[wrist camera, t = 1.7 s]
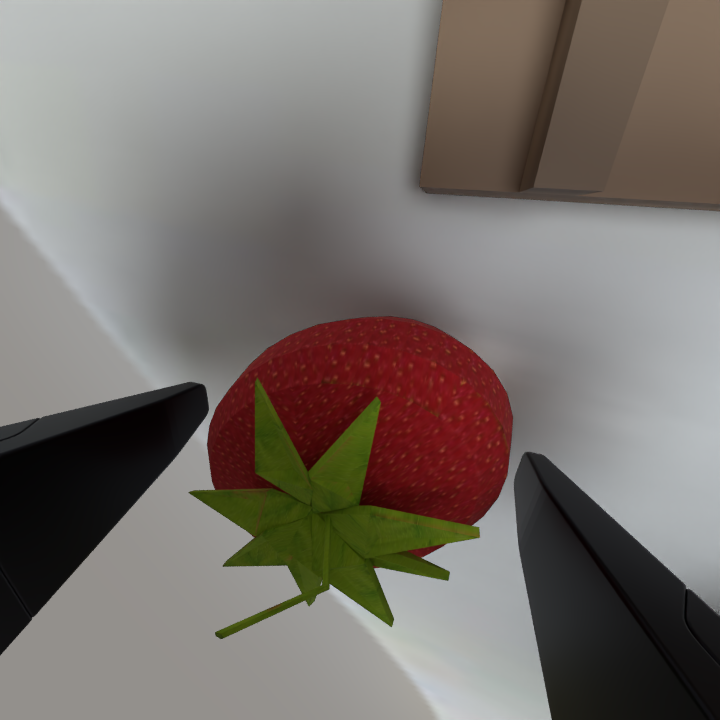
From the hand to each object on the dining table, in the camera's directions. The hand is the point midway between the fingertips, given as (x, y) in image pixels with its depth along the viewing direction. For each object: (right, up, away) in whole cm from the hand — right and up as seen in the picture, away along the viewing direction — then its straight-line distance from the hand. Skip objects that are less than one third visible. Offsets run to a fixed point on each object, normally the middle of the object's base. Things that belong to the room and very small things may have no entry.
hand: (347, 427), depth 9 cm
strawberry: (+1, +2, +4) cm, 5 cm away
